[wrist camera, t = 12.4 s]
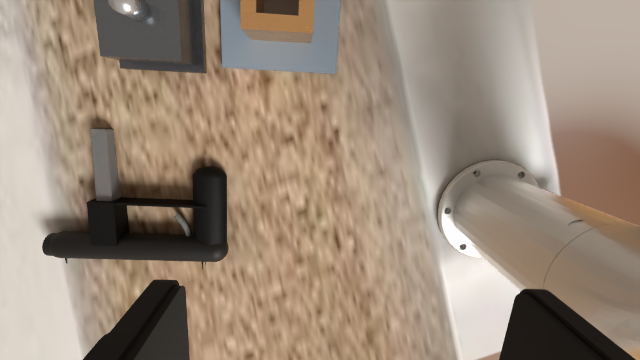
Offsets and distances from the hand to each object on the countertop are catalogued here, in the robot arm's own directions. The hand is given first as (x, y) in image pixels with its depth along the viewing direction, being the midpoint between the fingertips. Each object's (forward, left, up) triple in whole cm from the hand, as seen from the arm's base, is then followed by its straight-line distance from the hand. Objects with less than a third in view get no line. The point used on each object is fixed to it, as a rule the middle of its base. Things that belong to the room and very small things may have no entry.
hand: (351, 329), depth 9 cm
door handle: (+20, +6, -29) cm, 36 cm away
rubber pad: (+4, -15, -28) cm, 32 cm away
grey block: (+16, -14, -28) cm, 35 cm away
